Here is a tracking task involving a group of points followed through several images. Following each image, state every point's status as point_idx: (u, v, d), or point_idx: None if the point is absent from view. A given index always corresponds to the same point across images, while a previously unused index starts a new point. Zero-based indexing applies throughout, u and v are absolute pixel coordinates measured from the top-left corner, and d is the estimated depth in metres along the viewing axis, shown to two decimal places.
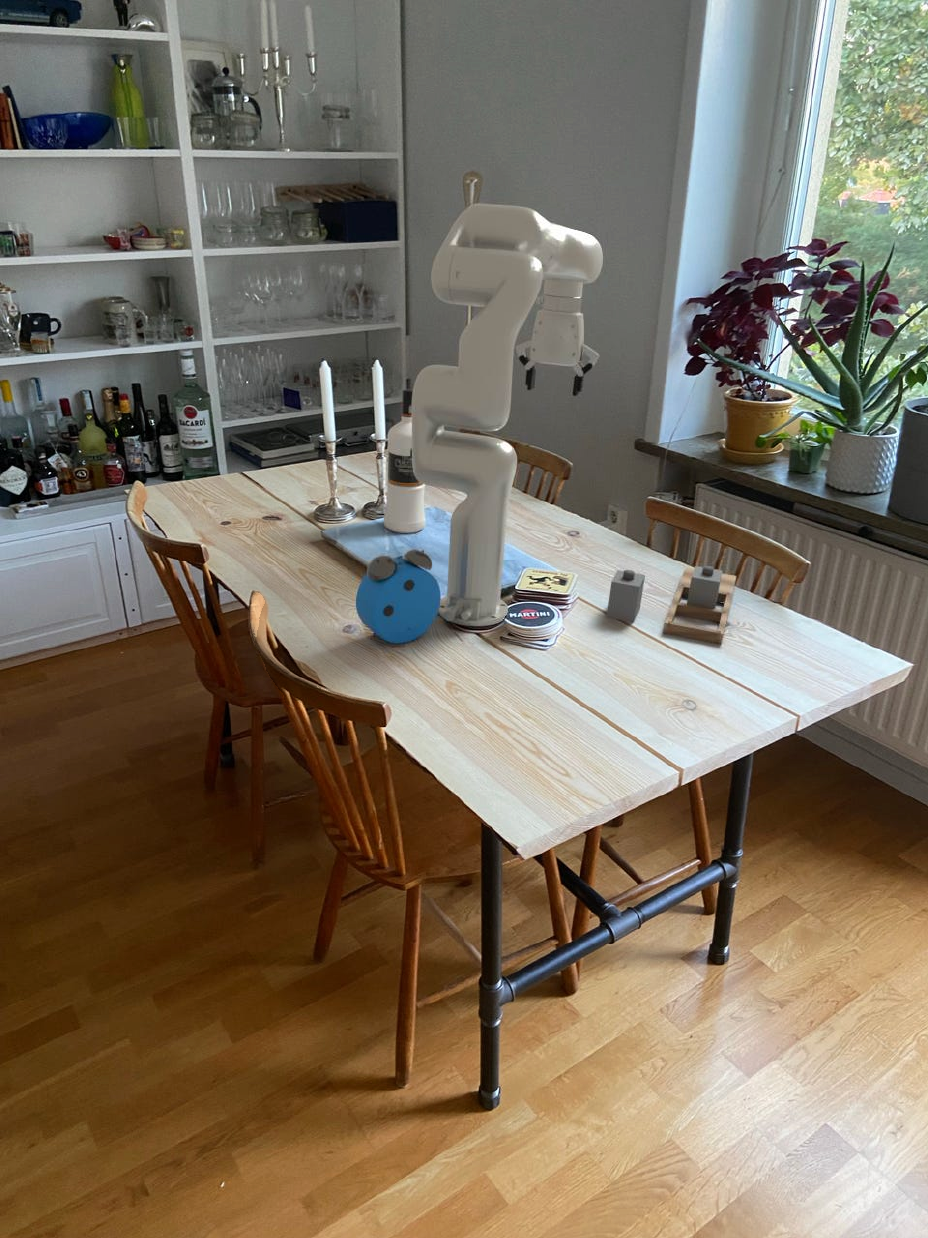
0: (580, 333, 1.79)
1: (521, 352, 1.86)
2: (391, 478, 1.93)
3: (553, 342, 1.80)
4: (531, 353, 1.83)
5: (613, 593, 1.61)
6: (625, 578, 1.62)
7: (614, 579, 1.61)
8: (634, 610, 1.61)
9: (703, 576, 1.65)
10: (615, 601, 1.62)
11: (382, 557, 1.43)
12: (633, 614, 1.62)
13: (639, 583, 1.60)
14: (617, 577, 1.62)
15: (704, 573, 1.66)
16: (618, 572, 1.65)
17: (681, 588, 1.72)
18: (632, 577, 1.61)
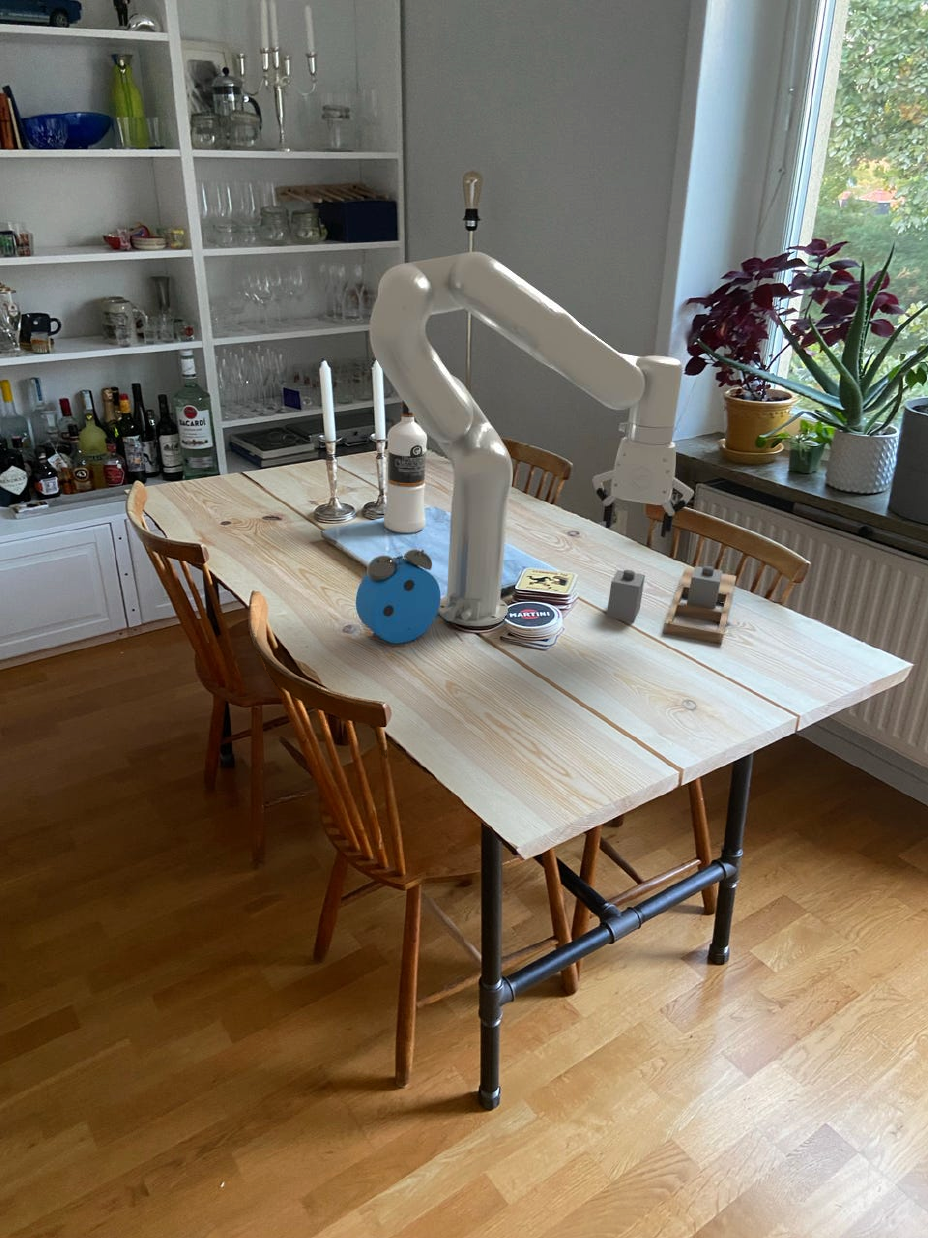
0: (673, 468, 1.50)
1: (599, 485, 1.57)
2: (391, 478, 1.93)
3: (640, 478, 1.52)
4: (612, 488, 1.54)
5: (613, 593, 1.61)
6: (625, 578, 1.62)
7: (614, 579, 1.61)
8: (634, 610, 1.61)
9: (703, 576, 1.65)
10: (615, 601, 1.62)
11: (382, 557, 1.43)
12: (633, 614, 1.62)
13: (639, 583, 1.60)
14: (617, 577, 1.62)
15: (704, 573, 1.66)
16: (618, 572, 1.65)
17: (681, 588, 1.72)
18: (632, 577, 1.61)
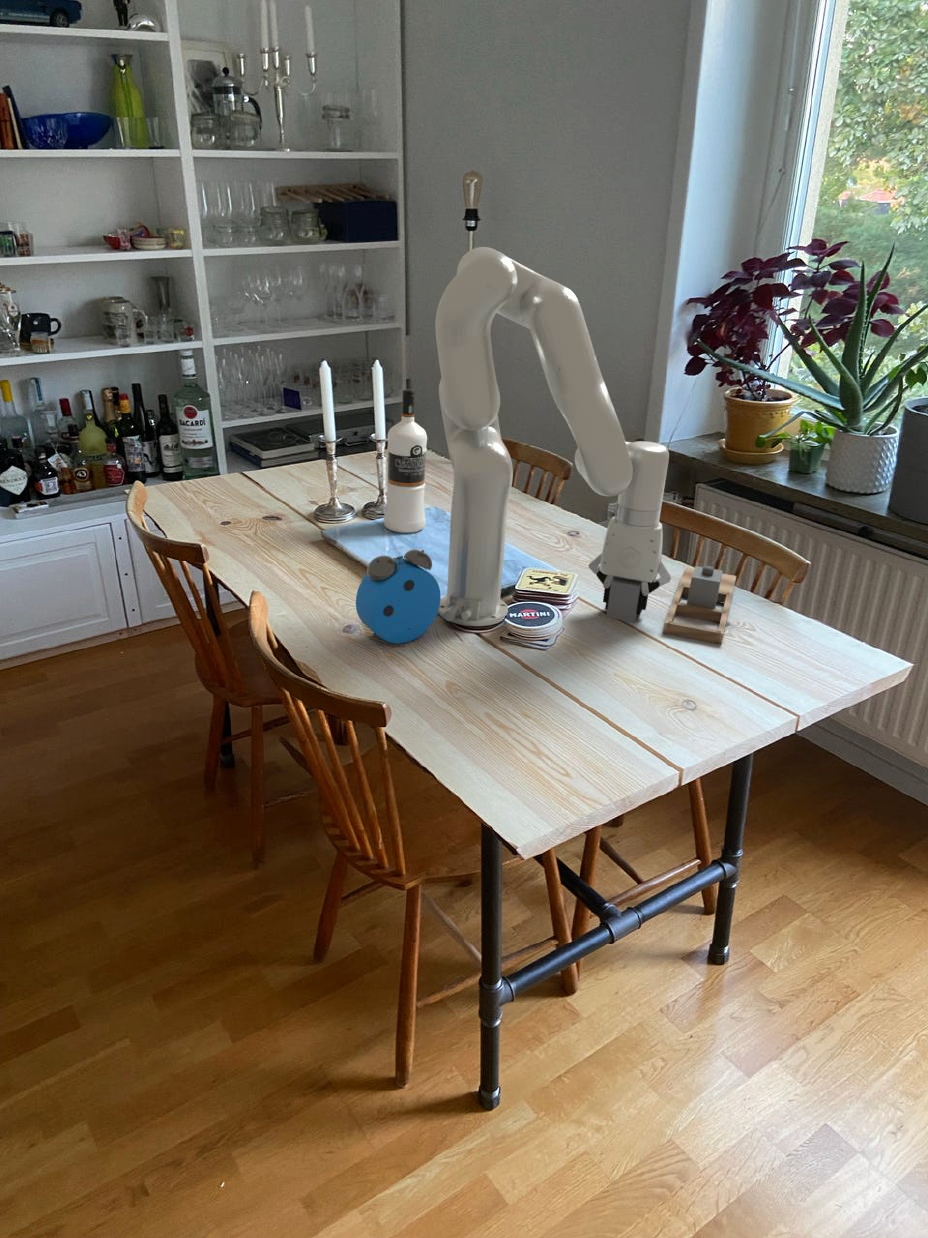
0: (659, 548, 1.56)
1: (597, 569, 1.63)
2: (391, 479, 1.93)
3: (628, 557, 1.58)
4: (601, 565, 1.60)
5: (613, 592, 1.61)
6: None
7: (614, 579, 1.61)
8: (634, 610, 1.61)
9: (703, 576, 1.65)
10: (615, 601, 1.62)
11: (382, 557, 1.43)
12: (633, 614, 1.61)
13: (639, 583, 1.60)
14: (617, 577, 1.62)
15: (704, 573, 1.66)
16: None
17: (681, 588, 1.72)
18: None
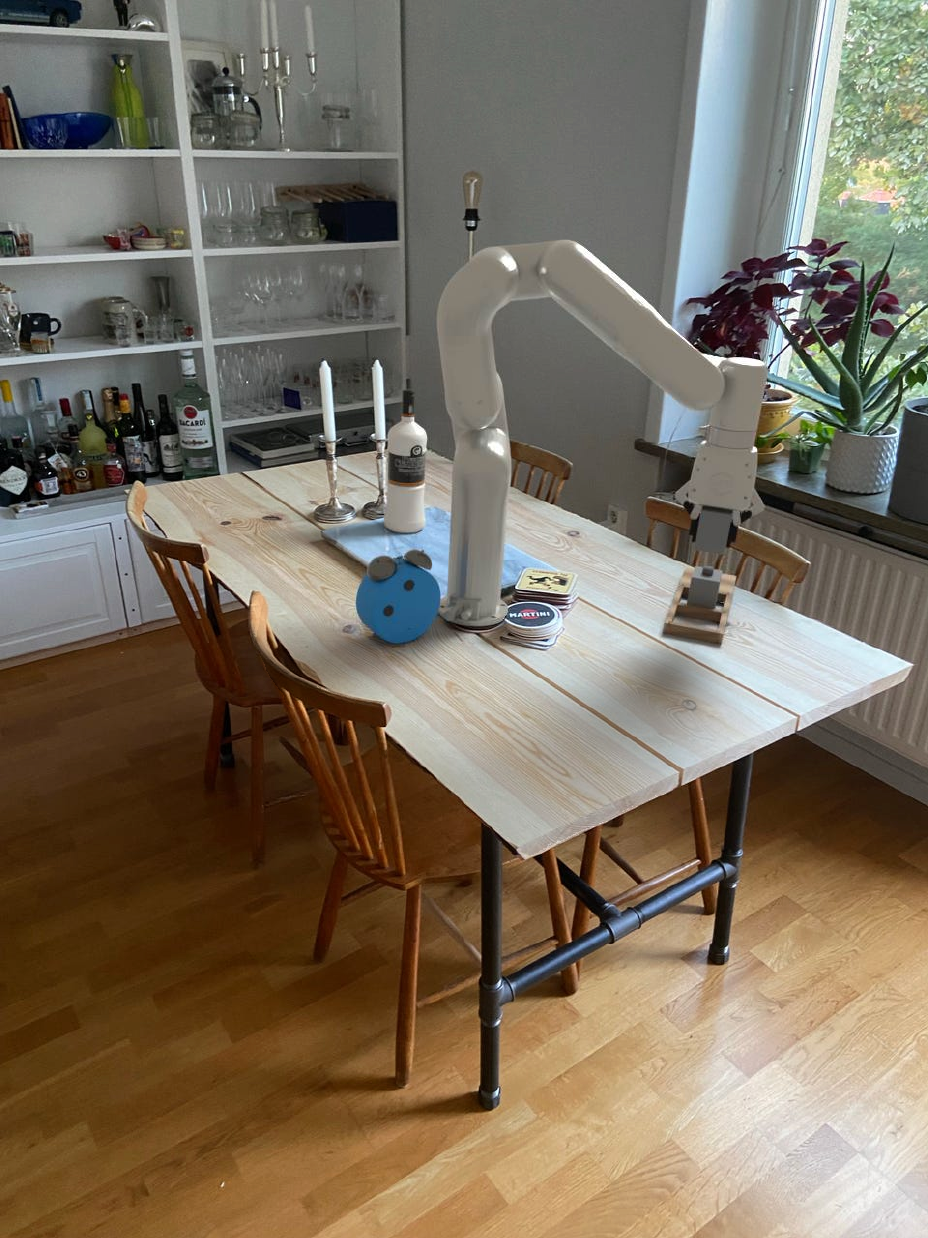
0: (754, 473, 1.46)
1: (683, 499, 1.53)
2: (391, 478, 1.93)
3: (720, 483, 1.48)
4: (690, 494, 1.50)
5: (702, 523, 1.51)
6: (715, 507, 1.51)
7: (703, 508, 1.51)
8: (725, 541, 1.51)
9: (703, 576, 1.65)
10: (704, 532, 1.51)
11: (382, 557, 1.43)
12: (723, 545, 1.51)
13: (730, 512, 1.50)
14: (706, 506, 1.52)
15: (704, 573, 1.66)
16: None
17: (681, 588, 1.72)
18: None
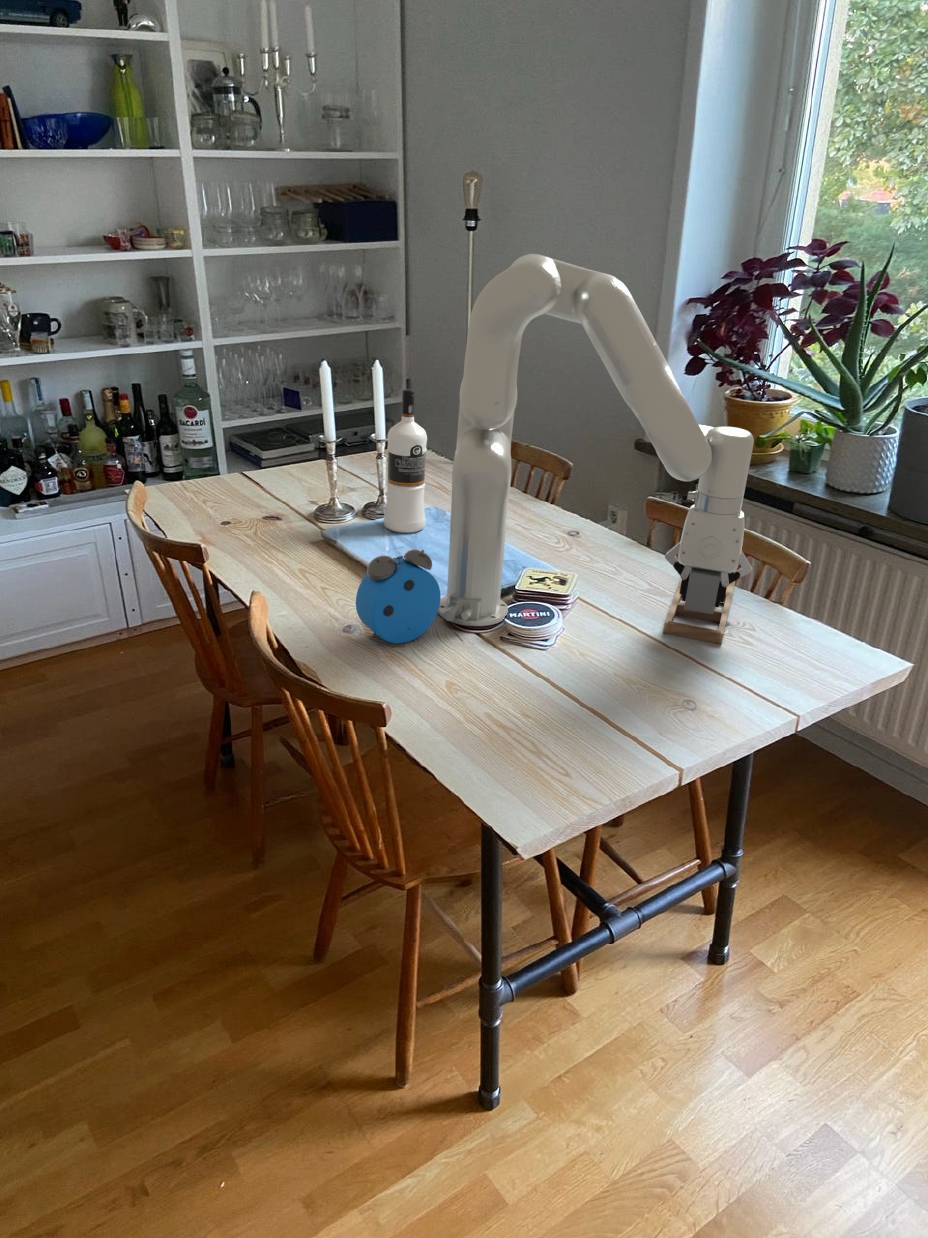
0: (742, 537, 1.51)
1: (674, 560, 1.58)
2: (391, 478, 1.93)
3: (708, 547, 1.52)
4: (680, 556, 1.55)
5: (691, 584, 1.56)
6: None
7: (693, 569, 1.56)
8: (714, 601, 1.56)
9: None
10: (693, 592, 1.56)
11: (382, 557, 1.43)
12: (712, 606, 1.56)
13: (719, 573, 1.55)
14: None
15: None
16: None
17: None
18: None
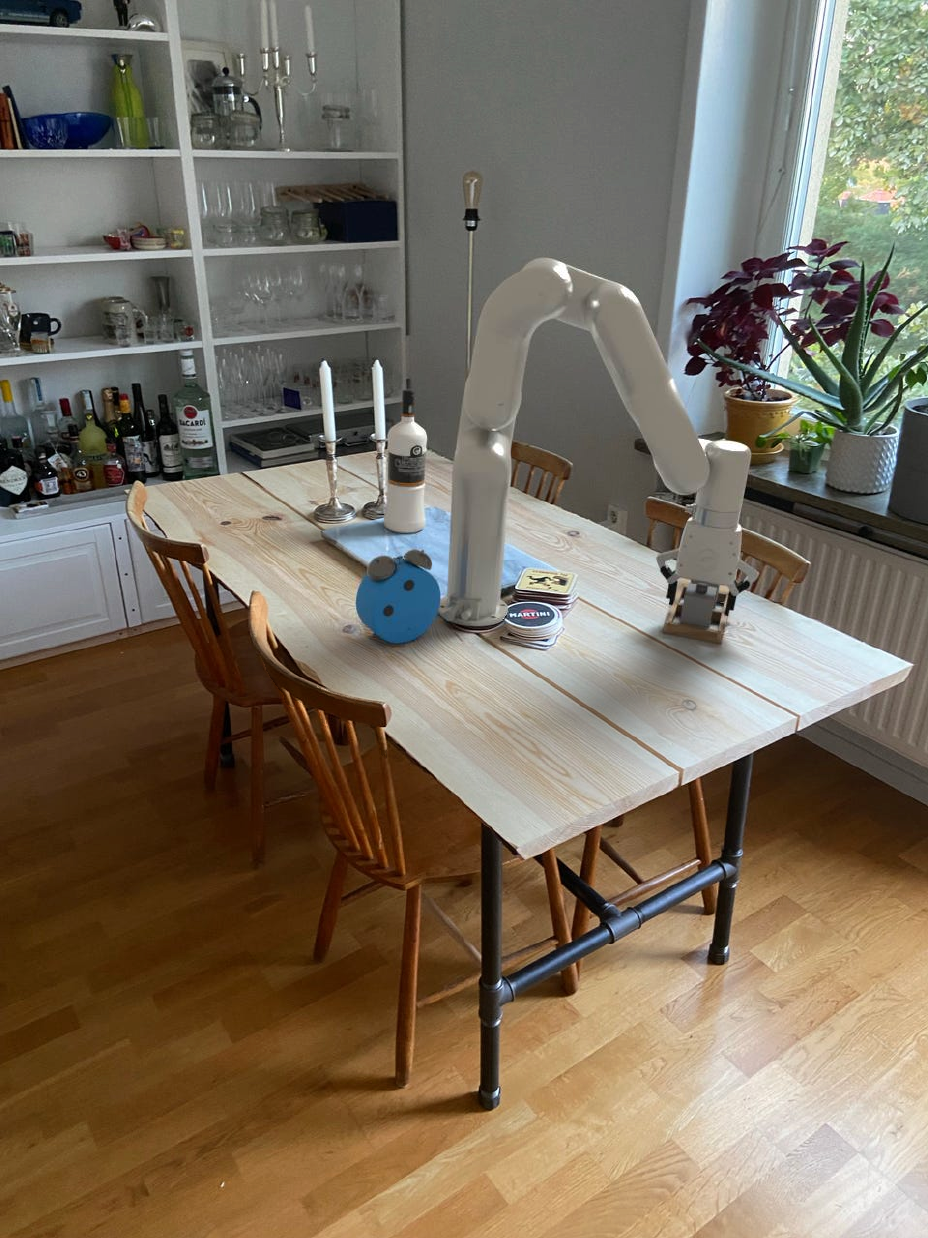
0: (739, 550, 1.52)
1: (663, 563, 1.58)
2: (391, 478, 1.93)
3: (706, 559, 1.53)
4: (677, 568, 1.56)
5: (686, 606, 1.58)
6: (698, 591, 1.58)
7: (687, 592, 1.58)
8: (708, 624, 1.58)
9: None
10: (687, 615, 1.58)
11: (382, 557, 1.43)
12: None
13: (713, 597, 1.57)
14: (689, 590, 1.59)
15: None
16: (689, 585, 1.61)
17: (681, 588, 1.72)
18: (705, 590, 1.58)
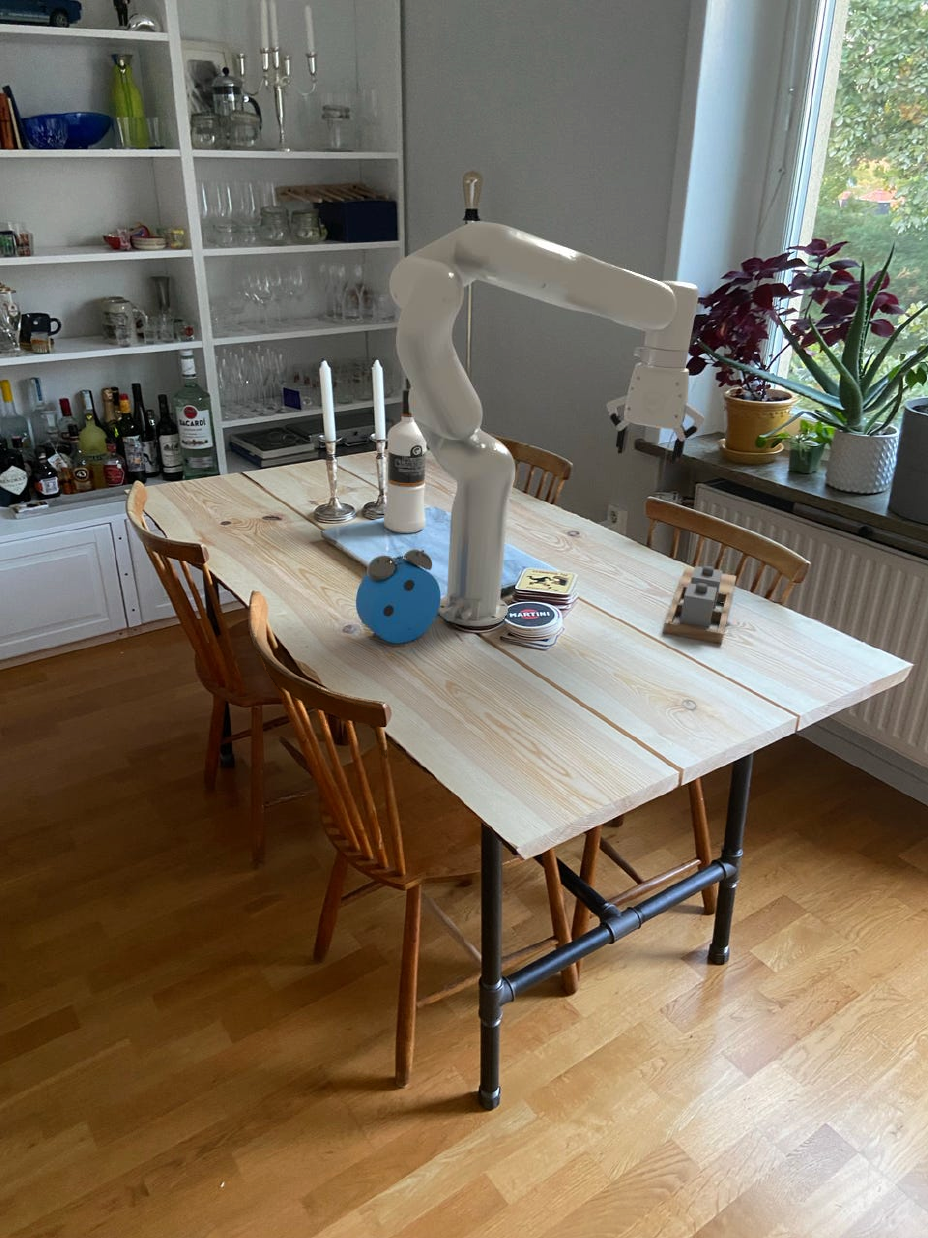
0: (685, 392, 1.54)
1: (613, 410, 1.61)
2: (391, 478, 1.93)
3: (653, 402, 1.55)
4: (625, 412, 1.58)
5: (686, 606, 1.58)
6: (698, 591, 1.58)
7: (687, 592, 1.58)
8: (707, 624, 1.58)
9: (703, 576, 1.65)
10: (687, 615, 1.58)
11: (382, 557, 1.43)
12: None
13: (713, 597, 1.57)
14: (689, 590, 1.59)
15: (704, 573, 1.66)
16: (689, 585, 1.61)
17: (681, 588, 1.72)
18: (705, 590, 1.58)
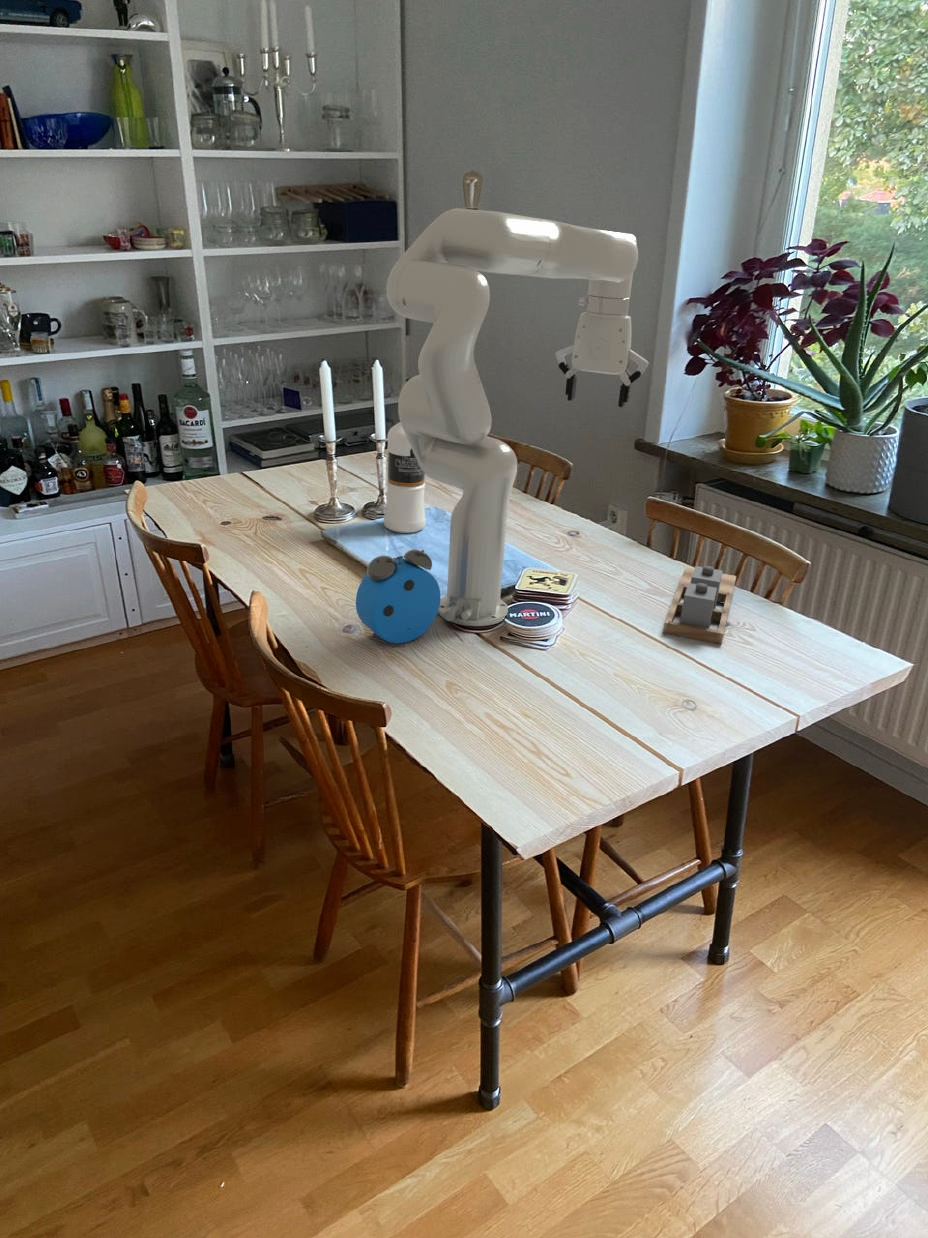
0: (628, 338, 1.62)
1: (561, 359, 1.69)
2: (391, 478, 1.93)
3: (598, 348, 1.63)
4: (573, 360, 1.66)
5: (686, 606, 1.58)
6: (698, 591, 1.58)
7: (687, 592, 1.58)
8: (707, 624, 1.58)
9: (703, 576, 1.65)
10: (687, 615, 1.58)
11: (382, 557, 1.43)
12: None
13: (713, 597, 1.57)
14: (689, 590, 1.59)
15: (704, 573, 1.66)
16: (689, 585, 1.61)
17: (681, 588, 1.72)
18: (705, 590, 1.58)
